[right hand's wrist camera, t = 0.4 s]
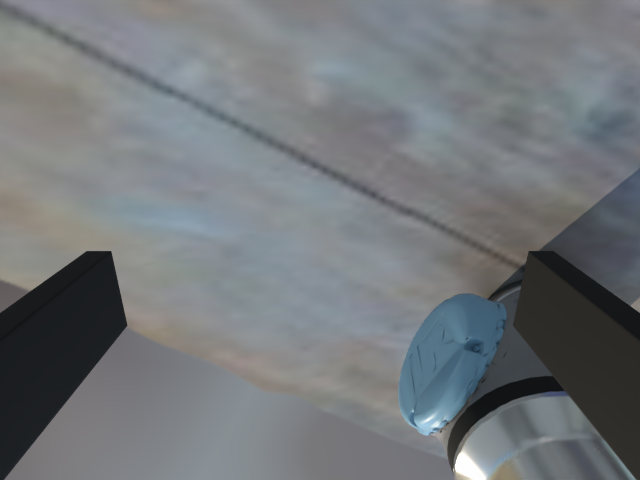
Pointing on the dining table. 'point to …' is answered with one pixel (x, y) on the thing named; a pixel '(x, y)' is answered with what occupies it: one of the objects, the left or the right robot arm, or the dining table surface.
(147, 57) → the dining table surface
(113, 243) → the dining table surface
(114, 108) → the dining table surface
